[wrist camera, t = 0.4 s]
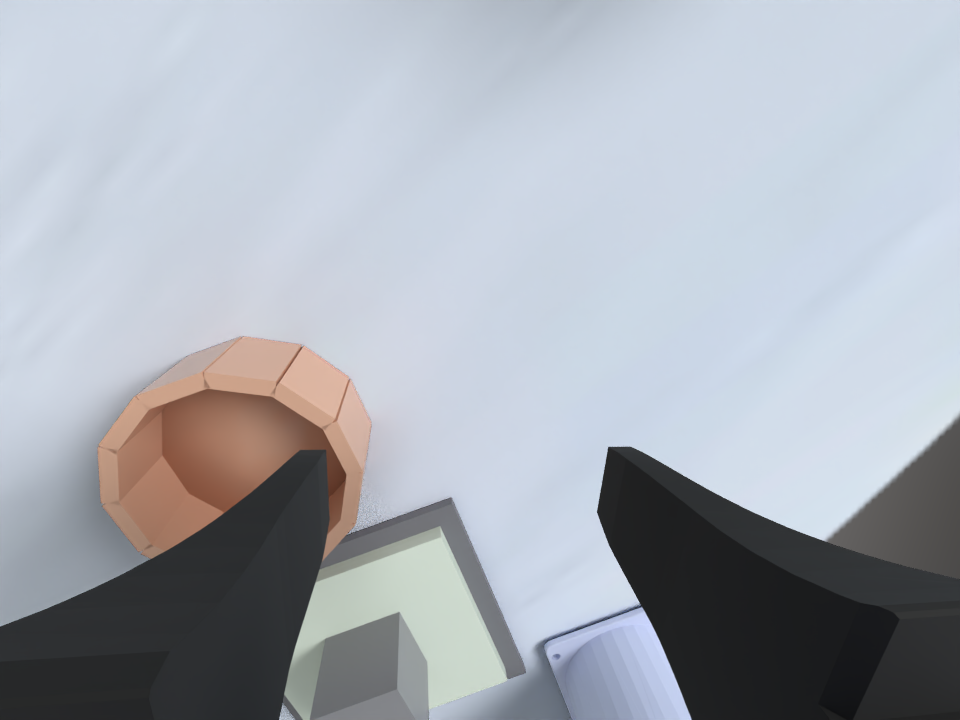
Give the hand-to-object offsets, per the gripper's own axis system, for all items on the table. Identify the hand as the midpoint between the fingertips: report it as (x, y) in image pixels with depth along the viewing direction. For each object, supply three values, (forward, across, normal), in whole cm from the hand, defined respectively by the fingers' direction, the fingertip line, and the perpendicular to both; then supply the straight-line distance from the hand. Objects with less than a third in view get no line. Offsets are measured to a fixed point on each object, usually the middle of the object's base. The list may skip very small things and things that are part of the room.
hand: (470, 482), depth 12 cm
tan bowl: (+10, +8, +4) cm, 13 cm away
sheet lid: (+9, +3, +16) cm, 19 cm away
